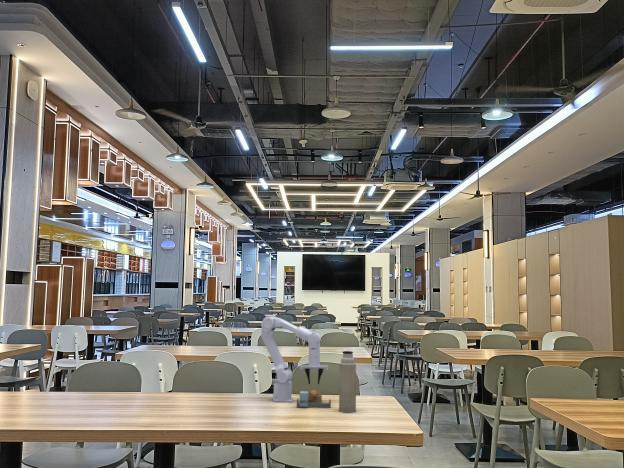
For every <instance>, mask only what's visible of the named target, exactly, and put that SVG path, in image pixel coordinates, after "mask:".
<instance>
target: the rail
mask: <svg viewBox="0 0 624 468" xmlns="http://www.w3.org/2000/svg"><path fill="white" fill-rule="evenodd" d="M296 408H308V409H309V408H310V409H311V408H312V409H313V408H315V409H321V408H322V409H331V408H332V400H331V399H330V398H329V399H328V402H326V401H325V402H323V401H322V402H308V406H300V398H296Z"/></svg>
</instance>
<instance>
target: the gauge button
mask: <svg viewBox="0 0 624 468" xmlns="http://www.w3.org/2000/svg"><path fill="white" fill-rule="evenodd" d="M310 393H311V395H317V393H318V391H317V390H316V389H312V390H310Z"/></svg>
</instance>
